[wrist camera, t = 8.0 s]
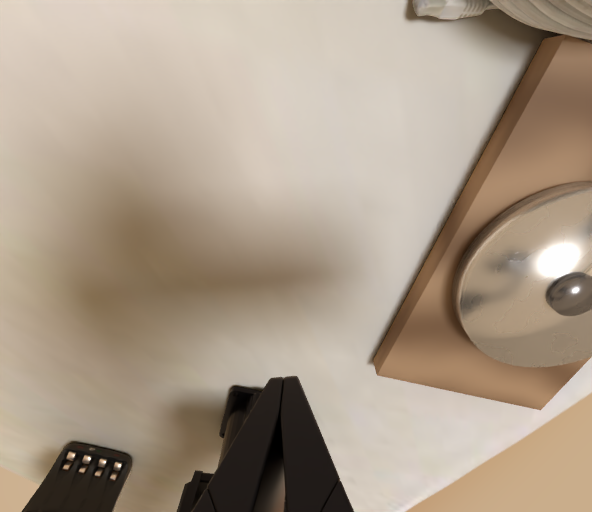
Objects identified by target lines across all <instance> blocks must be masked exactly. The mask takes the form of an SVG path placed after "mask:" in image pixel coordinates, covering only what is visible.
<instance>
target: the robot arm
mask: <svg viewBox="0 0 592 512" xmlns="http://www.w3.org/2000/svg"><path fill="white" fill-rule="evenodd" d="M219 435H220V437H222V438H224V441H223V445H222V450H221V454H220V459H219V464H218V468H217V470H216V472H215V473H214V474H210V473H203V471H196V470H195V472H194V475H193V478H192V481H191V482H189V483H187V484H185V486H184V490H183V493H182V496H181V500H180V503H179V506H178V509H177V512H354V510H353V508H352V506H351V504H350V501H349V499H348V497H347V495H346V492H345V490H344V487H343V485H342V482H341V481H340V478H339V475H338V473H337V471H336V468H335V466H334V463H333V461H332V459H331V456H330V454H329V451H328V449H327V446H326V444H325V442H324V439H323V437H322V434H321V432H320V429H319V427H318V425H317V422H316V420H315V417H314V415H313V412H312V410H311V408H310V405H309V403H308V400H307V398H306V396H305V393H304V391H303V388H302V386H301V383H300V381H299V379H298V377H297V376H289V377H285V378H283V377H276V378H271V379H270V380H269V381H268V383H267V384H266V386H265V388H264V390H263V391H257V390H252V389H247V388H242V387H233V388H232V389H231V391H230V395H229V399H228V402H227V406H226V410H225V414H224V417H223V421H222V425H221V429H220V433H219Z"/></svg>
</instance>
